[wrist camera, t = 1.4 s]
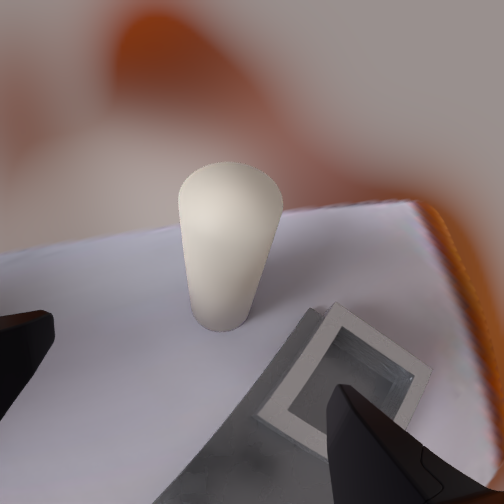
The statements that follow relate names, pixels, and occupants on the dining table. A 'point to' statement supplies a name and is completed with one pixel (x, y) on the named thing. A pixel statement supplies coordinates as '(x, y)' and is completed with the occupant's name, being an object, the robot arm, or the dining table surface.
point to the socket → (299, 415)
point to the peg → (226, 239)
